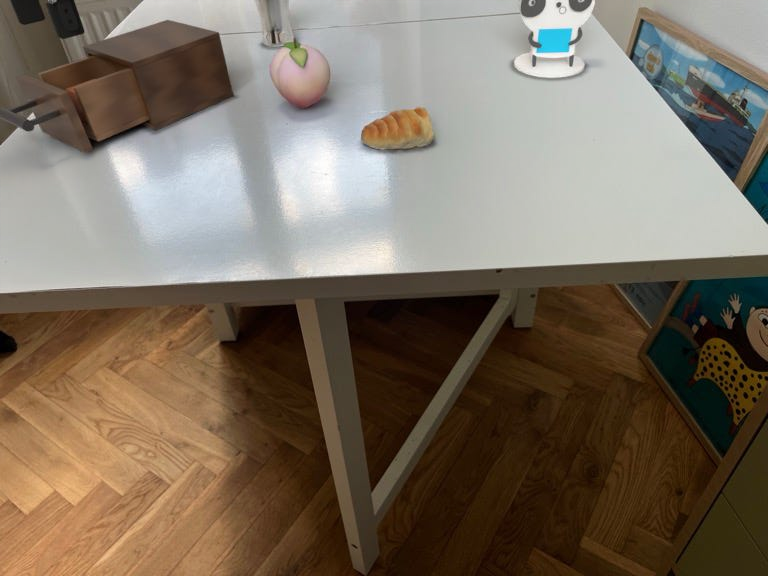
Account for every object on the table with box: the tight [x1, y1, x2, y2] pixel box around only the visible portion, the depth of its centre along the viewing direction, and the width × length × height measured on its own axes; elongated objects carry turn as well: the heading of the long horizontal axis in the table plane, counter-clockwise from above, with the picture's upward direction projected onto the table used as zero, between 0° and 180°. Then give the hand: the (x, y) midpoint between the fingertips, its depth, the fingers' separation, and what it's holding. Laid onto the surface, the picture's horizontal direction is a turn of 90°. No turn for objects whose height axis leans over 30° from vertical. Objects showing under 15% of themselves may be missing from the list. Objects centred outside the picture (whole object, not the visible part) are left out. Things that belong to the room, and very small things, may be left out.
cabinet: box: [82, 19, 234, 131], centre depth 83 cm, size 15×13×10 cm
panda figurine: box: [513, 0, 596, 79], centre depth 87 cm, size 12×11×15 cm
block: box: [66, 79, 96, 123], centre depth 77 cm, size 4×4×4 cm
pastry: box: [360, 106, 435, 151], centre depth 73 cm, size 9×7×4 cm
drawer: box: [0, 55, 149, 153], centre depth 76 cm, size 18×11×8 cm, turn 142°
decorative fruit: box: [269, 37, 331, 109], centre depth 80 cm, size 9×8×10 cm
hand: (52, 28), depth 71 cm, fingers open, 9 cm apart
